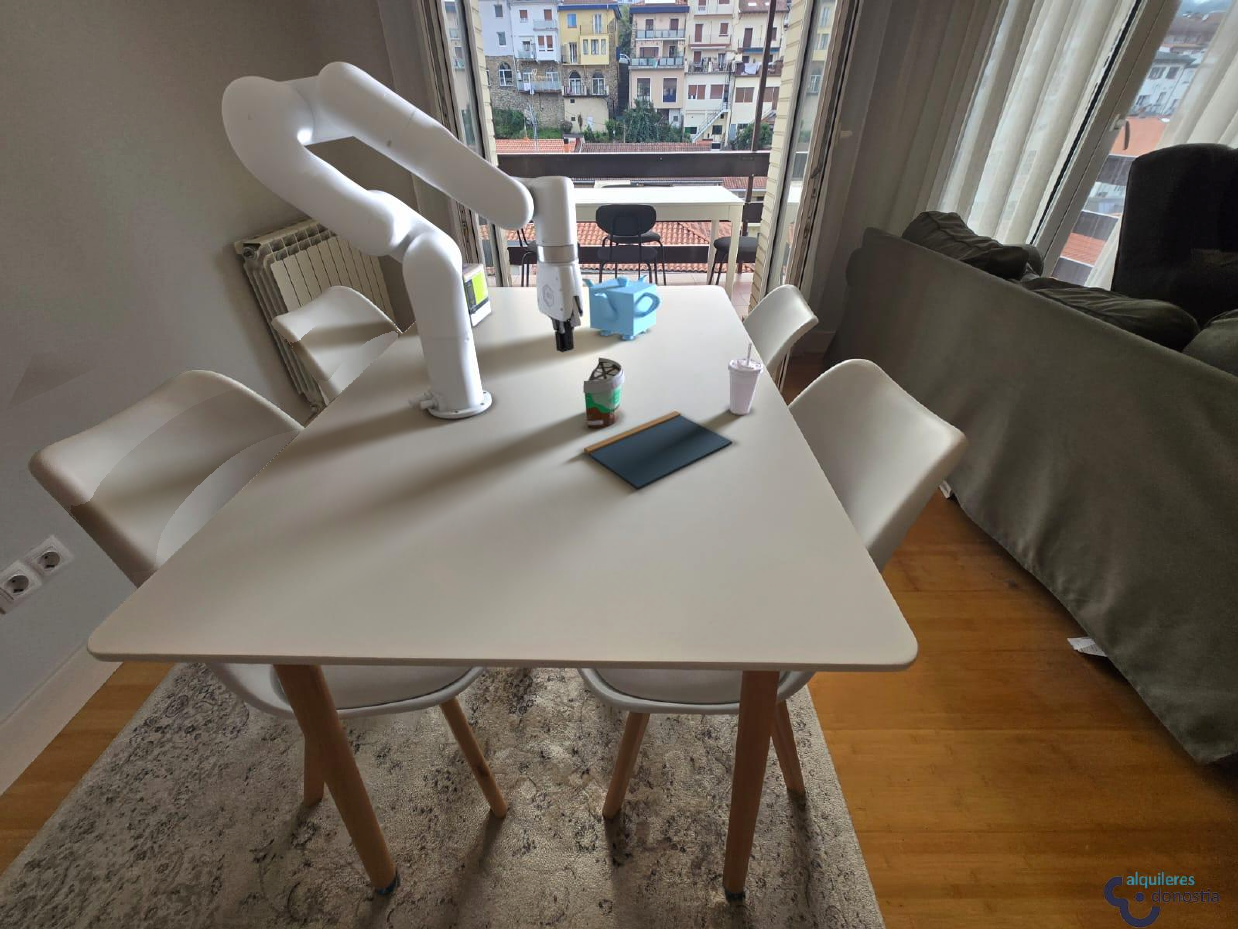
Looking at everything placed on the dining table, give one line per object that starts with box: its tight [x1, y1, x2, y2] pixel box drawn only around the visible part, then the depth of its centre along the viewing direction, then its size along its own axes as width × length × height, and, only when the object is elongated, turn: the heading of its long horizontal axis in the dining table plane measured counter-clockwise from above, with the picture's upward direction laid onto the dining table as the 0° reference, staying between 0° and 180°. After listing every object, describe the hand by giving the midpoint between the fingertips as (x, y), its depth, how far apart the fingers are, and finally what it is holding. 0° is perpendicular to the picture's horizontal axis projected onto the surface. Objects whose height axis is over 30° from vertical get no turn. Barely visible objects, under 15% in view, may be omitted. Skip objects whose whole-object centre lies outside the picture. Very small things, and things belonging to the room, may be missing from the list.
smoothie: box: [727, 342, 764, 416], centre depth 97 cm, size 6×6×14 cm
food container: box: [582, 357, 626, 429], centre depth 96 cm, size 12×6×10 cm, turn 168°
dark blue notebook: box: [583, 410, 733, 490], centre depth 89 cm, size 22×14×1 cm, turn 129°
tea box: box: [462, 263, 492, 328], centre depth 149 cm, size 15×10×15 cm, turn 172°
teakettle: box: [581, 274, 662, 341], centre depth 137 cm, size 19×19×15 cm
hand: (565, 349), depth 103 cm, fingers closed
